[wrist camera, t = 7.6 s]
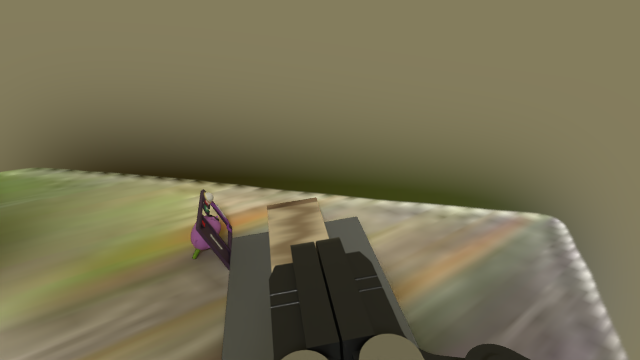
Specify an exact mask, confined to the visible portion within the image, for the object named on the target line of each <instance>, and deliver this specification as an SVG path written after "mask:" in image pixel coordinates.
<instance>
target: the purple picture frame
mask: <svg viewBox="0 0 640 360" xmlns="http://www.w3.org/2000/svg"><path fill="white" fill-rule="evenodd" d="M212 200H213V194H212V193H209V192H207V193H206V191H205V190H204V189H203V190H202V191H201V193H200V200H199V208H198V215H197V222H196V223H195V225H194V227H193V229H192V232H191V242H192V244H193V246H194V247H195V248H196V250H195V253H193V254H194V255H193V257H192V258H193V259H196V257H197V256H198V253H199V252H200V250H205V249H208V248H211V249H212V250H213V251H214V253H215V254H216V255H217V256H218V257H219V259H220V260H221V261H222V262H223V264H224V265H225V266H226V267H227V268H228V270H229V271H230V260H231V248H232V226H231V225H230V223H229V221H228V219H227V218H226V216H225V215H224V213H223V212H222V211H221V209H220V208H219V207H218V205H217V206H216V205H215V203H214V202H213V201H212ZM203 202H204V203H203ZM209 203H210V204H209ZM210 205H211V206H212V207H213V209H214V210H215V211H216V212H217V214H218V215H219V216H220V218H221V219H222V220H223V222H224V223H225V224H226V226H227V229H228V246H227V245H226V244H225V243H224V241H223V240H222V239H221V237H220V236H219V232H220V230H221V225H220V222H219V219H218V216H216V217H215V216H212V215H209V213H210V211H209V209H210ZM203 209H204V211H205V213H206V216H203V215H202V210H203Z"/></svg>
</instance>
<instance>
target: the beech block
mask: <svg viewBox="0 0 640 360" xmlns="http://www.w3.org/2000/svg"><path fill="white" fill-rule="evenodd" d="M267 210H268V225H269V240H270V255H271V270H272V271H273V269H274V267H275V266H276V265H282V264H287V263H293V261H292V254H291V247H290V245H295V244H301V243H308V242H314V243H315V247H316V241H319V240H325V239H329V237H328V233H327V230H326V227H325V224H324V221H323V217H322V214H321V211H320V208H319V205H318V202H317V198H310V199H304V200H298V201H292V202H286V203H280V204H274V205H268V206H267Z"/></svg>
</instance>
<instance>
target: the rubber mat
mask: <svg viewBox="0 0 640 360" xmlns="http://www.w3.org/2000/svg"><path fill="white" fill-rule="evenodd" d="M324 224H325V227H326V230H327V233H328V237H329V239H331V238H337V237H339V238H340V240H341V242H342V245H343V248H344V251H345V253H351V252H357V251H360V252H361V253H362V254H363V255H364V256H366V257H367V258H368V259H369V260H370V261H371V262H372V264H373V266H374V269H375V271H376V273H377V277H378V278H379V280H380V282H381V284H382V288H383V289H384V291H385V293H386V296H387V298H388V300H389V302H390V305H391V307H392V309H393V311H394V314H395V316H396V318H397V320H398V323H399V325H400V327H401V329H402V331H403V333H404V335H405V336H406V338H407V339H408V340H409V341H411V342H412V343H413V344H414V345H415V346H416V347H418V348H419V346H418V344H417V342H416V340H415V338H414V336H413V334H412V332H411V329H410V327H409V325H408V323H407V321H406V319H405V317H404V315H403V313H402V310H401V308H400V306H399V304H398V302H397V300H396V298H395V296H394V294H393V291H392V289H391V287H390V285H389V283H388V281H387V279H386V277H385V275H384V273H383V270H382V268H381V266H380V264H379V262H378V260H377V258H376V256H375V254H374V251H373V249H372V247H371V245H370V243H369V241H368V239H367V237H366V235H365V232H364V230H363V228H362V226H361V224H360V222H359V220H358V218H357V217H352V218H346V219H340V220H334V221H329V222H324ZM271 273H272V270H271V255H270V240H269V232H265V233H259V234H254V235H248V236H242V237H236V238H232V248H231V260H230V271H229V283H228V294H227V306H226V317H225V328H224V340H223V351H222V360H274V354H273V338H272V323H271V306H270V291H269V278H270V275H271ZM419 349H420V348H419Z"/></svg>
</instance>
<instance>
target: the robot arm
mask: <svg viewBox="0 0 640 360" xmlns="http://www.w3.org/2000/svg"><path fill="white" fill-rule="evenodd" d="M290 247H291V254H292V261H293V263H287V264H282V265H276V266H275V267H274V269H273V271H272V273H271V275H270V278H269V291H270V306H271V323H272V338H273V354H274V360H530V359H528V358H526V357H524V356H522V355H520V354H518V353H516V352H514V351H513V350H511V349H508V348H506V347H503V346H500V345H495V344H482V345H478V346H476V347H474V348H472V349H471V350H470V351H469V352H468V353H467V355H466V357H465V358H458V357H449V356H440V355H434V354H431V353H428V352H425V351H423V350H421V349H419V348H418V347H416V346H415V345H414V344H413V343H412V342H411V341H409V340H408V339H407V338H406V336H405V335H404V333H403V331H402V329H401V327H400V325H399V323H398V320H397V318H396V316H395V314H394V311H393V309H392V307H391V305H390V302H389V300H388V298H387V296H386V293H385V291H384V289H383V288H382V284H381V282H380V280H379V278H378V277H377V273H376V271H375V269H374V266H373V264H372V262H371V261H370V260H369V259H368V258H367V257H366V256H364V255H363V254H362V253H361V252H360V251H357V252H351V253H345V251H344V248H343V245H342V242H341V240H340V238H339V237H337V238H331V239H325V240H319V241H316V247H315V243H314V242H308V243H301V244H295V245H290Z"/></svg>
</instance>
